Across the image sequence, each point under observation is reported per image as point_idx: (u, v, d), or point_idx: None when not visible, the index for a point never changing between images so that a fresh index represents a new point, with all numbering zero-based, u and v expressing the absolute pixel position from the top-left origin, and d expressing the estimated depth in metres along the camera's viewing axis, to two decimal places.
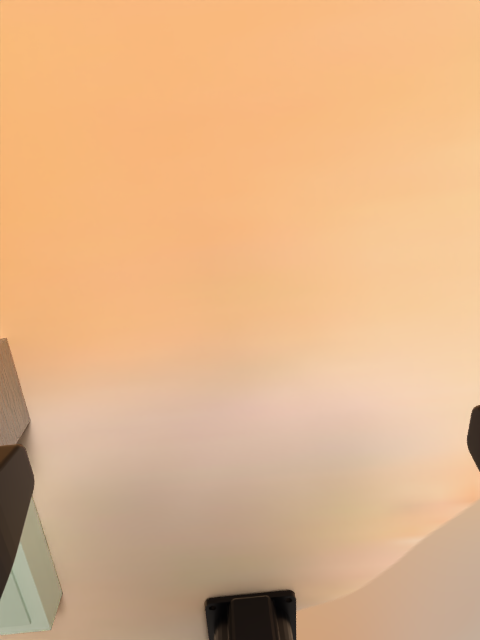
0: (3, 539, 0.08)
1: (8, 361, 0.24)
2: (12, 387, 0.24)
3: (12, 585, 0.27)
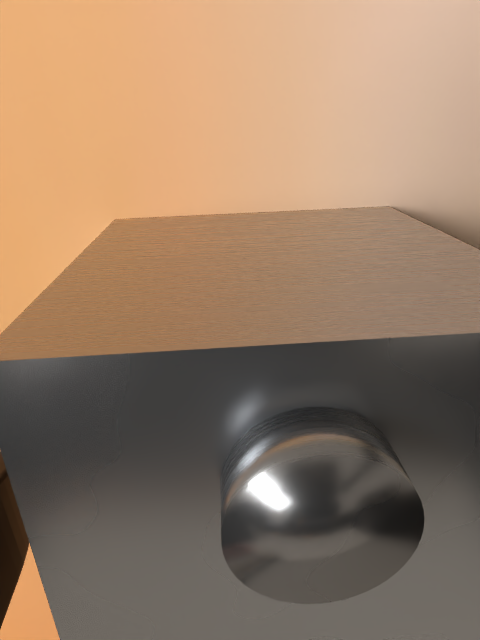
0: (14, 538, 0.08)
1: (172, 222, 0.08)
2: (250, 222, 0.08)
3: None
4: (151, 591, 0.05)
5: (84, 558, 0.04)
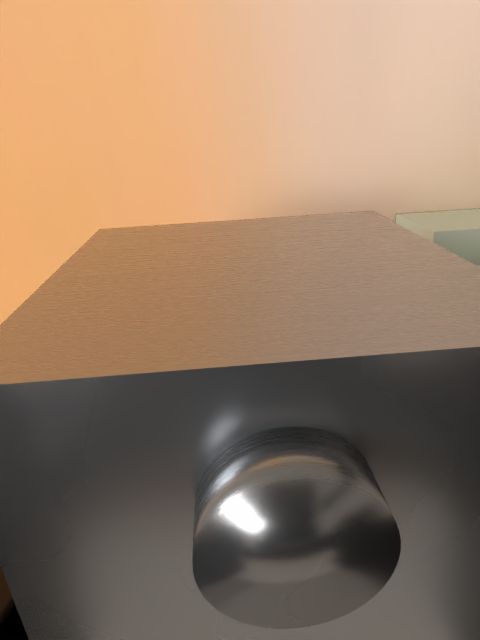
0: None
1: (155, 232, 0.08)
2: (233, 231, 0.08)
3: None
4: (130, 615, 0.04)
5: (58, 583, 0.04)
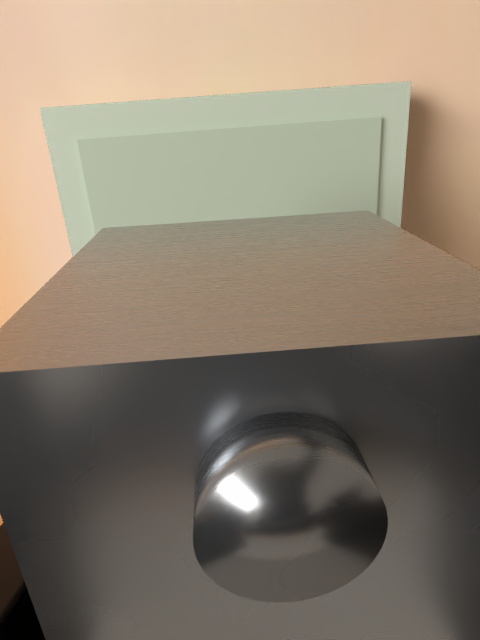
0: None
1: (157, 231, 0.08)
2: (233, 229, 0.08)
3: (271, 131, 0.15)
4: (133, 594, 0.05)
5: (67, 562, 0.04)
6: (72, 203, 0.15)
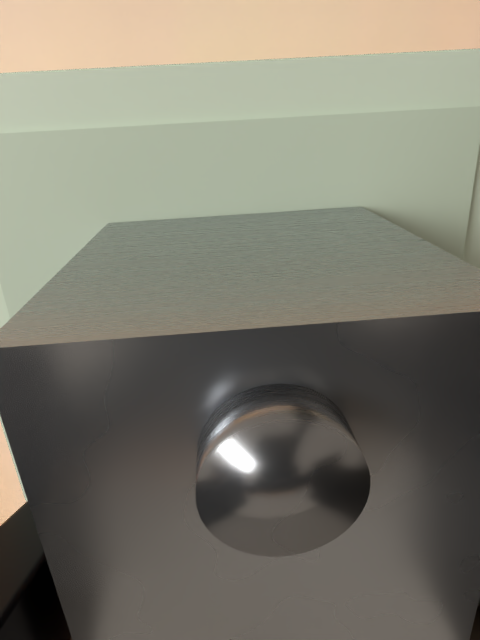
0: None
1: (160, 226, 0.09)
2: (232, 224, 0.08)
3: (298, 127, 0.09)
4: (140, 555, 0.05)
5: (79, 524, 0.05)
6: None
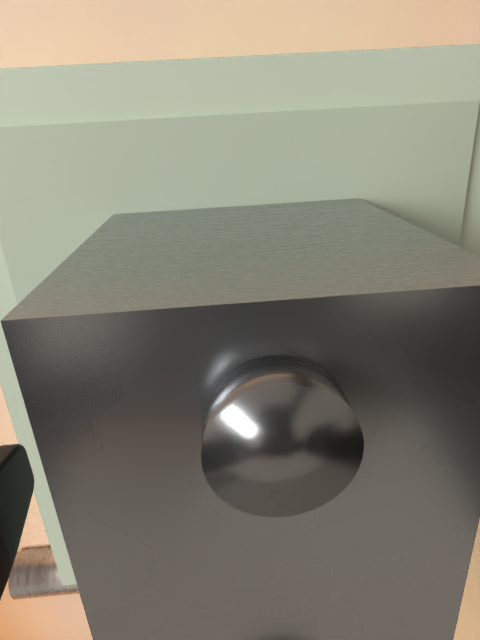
0: (3, 539, 0.08)
1: (163, 216, 0.09)
2: (233, 214, 0.09)
3: (298, 121, 0.09)
4: (147, 520, 0.05)
5: (90, 490, 0.05)
6: None
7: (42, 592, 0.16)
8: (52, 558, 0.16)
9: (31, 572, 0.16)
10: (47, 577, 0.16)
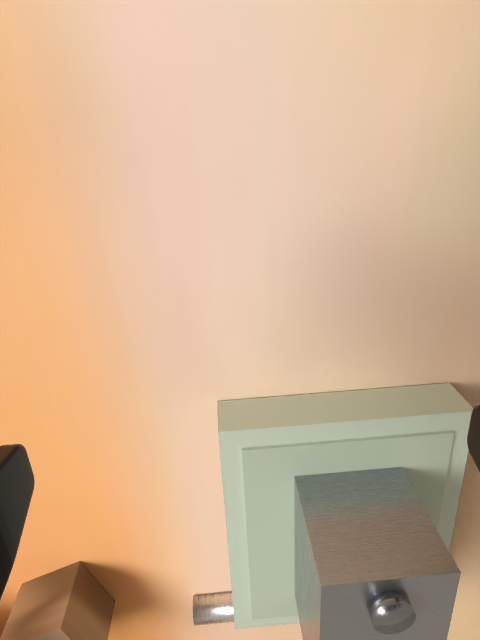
0: (3, 539, 0.08)
1: (320, 484, 0.21)
2: (351, 486, 0.21)
3: (376, 442, 0.21)
4: (346, 630, 0.18)
5: (331, 623, 0.17)
6: (230, 482, 0.22)
7: (210, 604, 0.28)
8: (216, 593, 0.29)
9: (205, 595, 0.28)
10: (214, 595, 0.28)
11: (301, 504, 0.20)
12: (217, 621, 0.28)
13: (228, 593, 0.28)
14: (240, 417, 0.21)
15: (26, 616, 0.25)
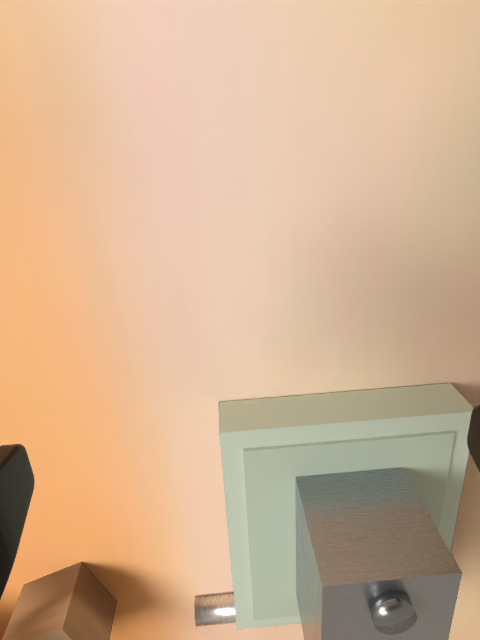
0: (3, 539, 0.08)
1: (321, 484, 0.21)
2: (352, 487, 0.21)
3: (377, 443, 0.21)
4: (347, 631, 0.18)
5: (333, 623, 0.17)
6: (231, 483, 0.22)
7: (212, 605, 0.28)
8: (217, 594, 0.29)
9: (206, 596, 0.28)
10: (216, 597, 0.28)
11: (302, 505, 0.20)
12: (219, 622, 0.28)
13: (230, 594, 0.28)
14: (241, 418, 0.21)
15: (28, 617, 0.25)
